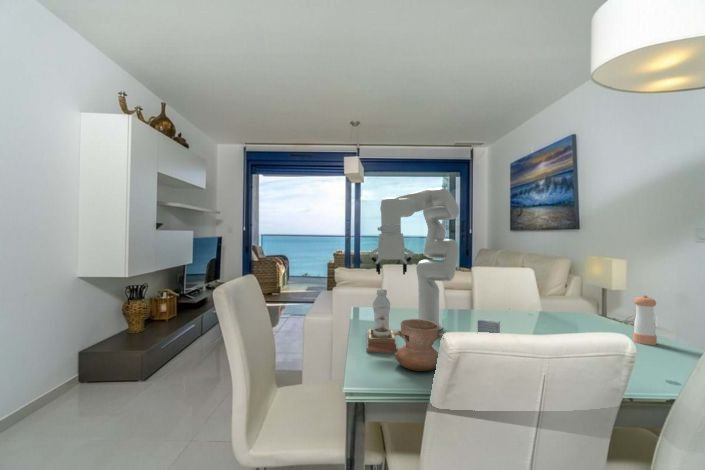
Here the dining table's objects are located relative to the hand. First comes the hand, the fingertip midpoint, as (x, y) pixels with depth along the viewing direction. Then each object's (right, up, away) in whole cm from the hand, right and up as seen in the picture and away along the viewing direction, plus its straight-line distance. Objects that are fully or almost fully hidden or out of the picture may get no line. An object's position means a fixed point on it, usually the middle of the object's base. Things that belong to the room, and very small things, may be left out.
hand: (391, 273), depth 132 cm
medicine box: (+40, -28, +5) cm, 49 cm away
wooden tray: (-4, -28, +1) cm, 28 cm away
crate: (-4, -27, -3) cm, 27 cm away
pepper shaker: (+104, -29, +7) cm, 108 cm away
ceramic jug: (+7, -28, -21) cm, 36 cm away
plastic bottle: (-4, -26, -3) cm, 27 cm away
